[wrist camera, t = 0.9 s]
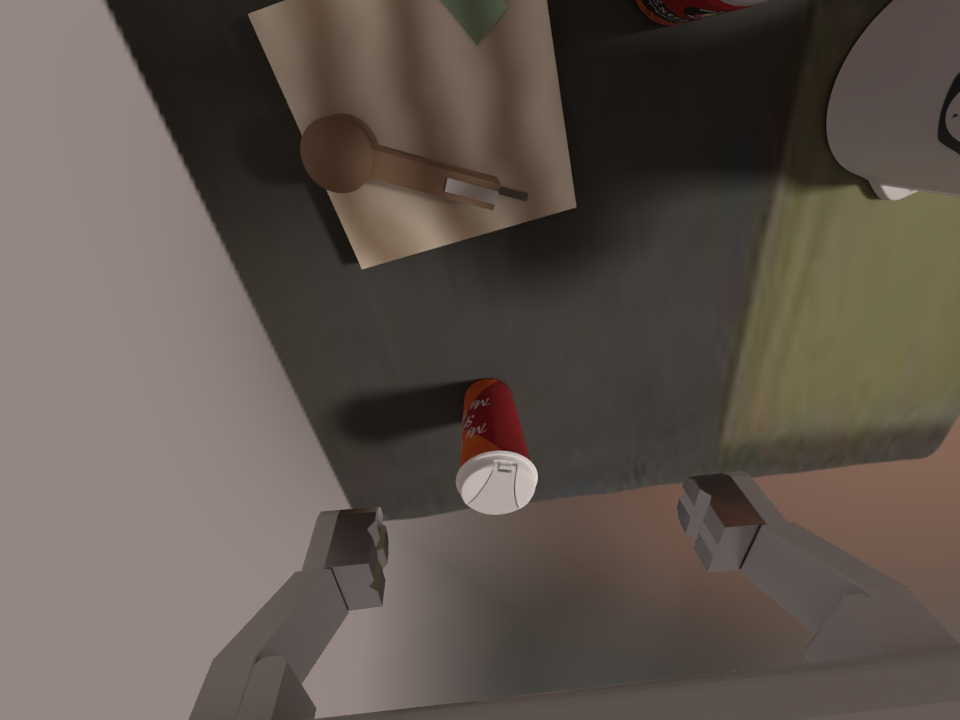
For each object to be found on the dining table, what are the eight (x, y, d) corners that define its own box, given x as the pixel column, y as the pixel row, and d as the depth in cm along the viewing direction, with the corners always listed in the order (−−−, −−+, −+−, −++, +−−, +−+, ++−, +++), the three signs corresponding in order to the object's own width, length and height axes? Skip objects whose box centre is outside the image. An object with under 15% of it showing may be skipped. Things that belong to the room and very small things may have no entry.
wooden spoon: (312, 174, 34) (298, 183, 31) (315, 104, 32) (301, 107, 29) (486, 219, 37) (488, 230, 34) (502, 157, 34) (506, 164, 31)
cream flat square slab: (528, -86, 29) (533, -97, 27) (571, 201, 39) (577, 207, 37) (256, 13, 31) (244, 9, 29) (365, 261, 41) (361, 269, 39)
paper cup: (461, 366, 48) (463, 457, 36) (527, 375, 49) (550, 466, 38) (450, 419, 52) (449, 516, 40) (511, 426, 53) (527, 522, 42)
